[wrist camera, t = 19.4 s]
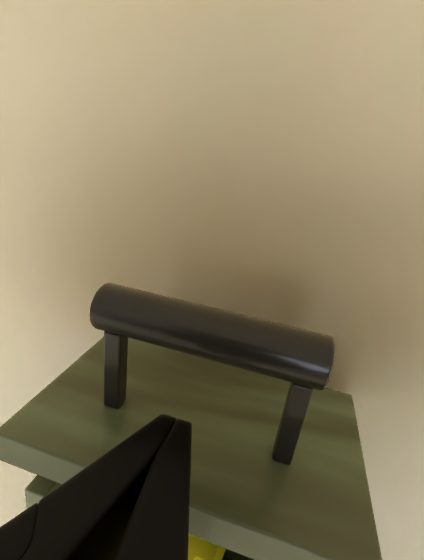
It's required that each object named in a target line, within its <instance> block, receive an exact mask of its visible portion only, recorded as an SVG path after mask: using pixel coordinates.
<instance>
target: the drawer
mask: <svg viewBox="0 0 424 560" xmlns="http://www.w3.org/2000/svg"><path fill="white" fill-rule="evenodd" d="M90 321H91V324H92V325H93V326H94V327H95V328H96V329H100V330H103V331H105V332H104V337H103V338H102V339H101V340H100V341H98V342H97V343H96V344H95V345H94V346H93V347H92V348H90V349H89V350H88V351H87V352H86V353H85V354H83V355H82V356H81V357H80V358H79V359H78V360H77V361H75V362H74V363H73V364H72V365H71V366H70V367H69V368H67V369H66V370H65V371H64V372H63V373H62V374H61V375H59V376H58V377H57V378H56V379H55V380H54V381H53V382H51V383H50V384H49V385H48V386H47V387H46V388H44V389H43V390H42V391H41V392H40V393H39V394H38V395H36V396H35V397H34V398H33V399H32V400H31V401H30V402H28V403H27V404H26V405H25V406H24V407H23V408H22V409H20V410H19V411H18V412H17V413H16V414H15V415H14V416H12V417H11V418H10V419H9V420H8V421H7V422H6V423H4V424H3V425H2V426H1V427H0V460H1V461H4V462H6V463H9V464H11V465H14V466H17V467H19V468H22V469H24V470H27V471H29V472H32V473H34V474H37V476H36V477H35V478H34V479H33V481H32V482H31V483H30V484H29V485H28V486H27V488H26V489H25V496H26V503H27V509H28V508H29V507H30V506H32V505H33V504H35V503H38V504H39V501H40V500H41V499H42V498H43V497H45V496H46V495H48V494H49V493H50V492H52V491H53V490H55V489H56V488H57V487H59V486H60V485H62V484H63V483H65V482H66V481H67V480H69V479H70V478H72V477H73V476H74V475H76V474H77V473H79V472H80V471H81V470H83V469H84V468H86V467H87V466H89V465H90V464H91V463H93V462H94V461H96V460H97V459H98V458H100V457H101V456H103V455H104V454H105V453H107V452H108V451H110V450H111V449H113V448H114V447H115V446H117V445H118V444H120V443H121V442H122V441H124V440H125V439H127V438H128V437H129V436H131V435H132V434H134V433H135V432H137V431H138V430H139V429H141V428H142V427H144V426H145V425H146V424H148V423H149V422H151V421H152V420H153V419H155V418H156V417H158V416H159V415H161V414H166V415H169V416H172V417H175V418H176V420H177V419H182V420H185V421H188V422H191V423H192V442H191V475H190V507H189V534H190V535H192V536H195V537H197V538H200V539H202V540H205V541H208V542H210V543H213V544H215V545H218V546H220V547H223V548H225V549H226V550H225V553H224V556H223V558H222V560H382V558H381V553H380V547H379V542H378V536H377V531H376V525H375V520H374V514H373V509H372V503H371V498H370V492H369V487H368V481H367V476H366V470H365V465H364V459H363V454H362V448H361V443H360V437H359V432H358V426H357V421H356V415H355V410H354V404H353V399H352V395H350V394H346V393H343V392H339V391H335V390H332V389H328V388H325V387H326V385H327V383H328V380H329V377H330V374H331V370H332V365H333V359H334V349H335V345H334V339H333V337H331V336H327V335H323V334H319V333H315V332H311V331H307V330H302V329H298V328H294V327H290V326H286V325H282V324H278V323H274V322H269V321H265V320H261V319H257V318H253V317H249V316H245V315H240V314H236V313H232V312H228V311H224V310H220V309H216V308H212V307H207V306H203V305H199V304H195V303H191V302H187V301H183V300H178V299H174V298H170V297H166V296H162V295H158V294H154V293H150V292H145V291H141V290H137V289H133V288H129V287H125V286H121V285H116V284H112V283H107V284H104V285H103V286H101V287H100V288H99V289H98V291H97V292H96V294H95V296H94V298H93V301H92V304H91V308H90Z"/></svg>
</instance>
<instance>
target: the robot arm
mask: <svg viewBox="0 0 424 560" xmlns="http://www.w3.org/2000/svg"><path fill="white" fill-rule="evenodd" d="M191 442H192V423H191V422H188V421H185V420H182V419H177V420H176V418H175V417H172V416H169V415H166V414H161V415H159V416H158V417H156V418H155V419H153V420H152V421H151V422H149V423H148V424H146V425H145V426H144V427H142V428H141V429H139V430H138V431H137V432H135V433H134V434H132V435H131V436H129V437H128V438H127V439H125V440H124V441H122V442H121V443H120V444H118V445H117V446H115V447H114V448H113V449H111V450H110V451H108V452H107V453H105V454H104V455H103V456H101V457H100V458H98V459H97V460H96V461H94V462H93V463H91V464H90V465H89V466H87V467H86V468H84V469H83V470H81V471H80V472H79V473H77V474H76V475H74V476H73V477H72V478H70V479H69V480H67V481H66V482H65V483H63V484H62V485H60V486H59V487H57V488H56V489H55V490H53V491H52V492H50V493H49V494H48V495H46V496H45V497H43V498H42V499H41V500H40V501H39V504H38V503H35V504H33V505H32V506H30V507H29V508H28V509H26V510H25V511H23V512H22V513H21V514H19V515H18V516H16V517H15V518H13V519H12V520H10V521H9V522H7V523H6V524H4V525H3V526H1V527H0V560H188V539H189V507H190V475H191Z"/></svg>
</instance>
